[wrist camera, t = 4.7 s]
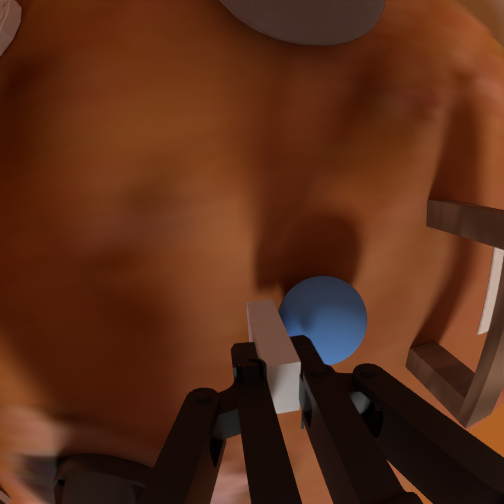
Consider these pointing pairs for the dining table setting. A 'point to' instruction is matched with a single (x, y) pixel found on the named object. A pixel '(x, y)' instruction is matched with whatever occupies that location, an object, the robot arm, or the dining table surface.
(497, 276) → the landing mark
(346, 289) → the ball
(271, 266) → the dining table surface
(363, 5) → the coffee pot
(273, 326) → the robot arm
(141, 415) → the dining table surface
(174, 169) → the dining table surface
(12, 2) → the white cup
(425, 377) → the bridge
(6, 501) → the milk
